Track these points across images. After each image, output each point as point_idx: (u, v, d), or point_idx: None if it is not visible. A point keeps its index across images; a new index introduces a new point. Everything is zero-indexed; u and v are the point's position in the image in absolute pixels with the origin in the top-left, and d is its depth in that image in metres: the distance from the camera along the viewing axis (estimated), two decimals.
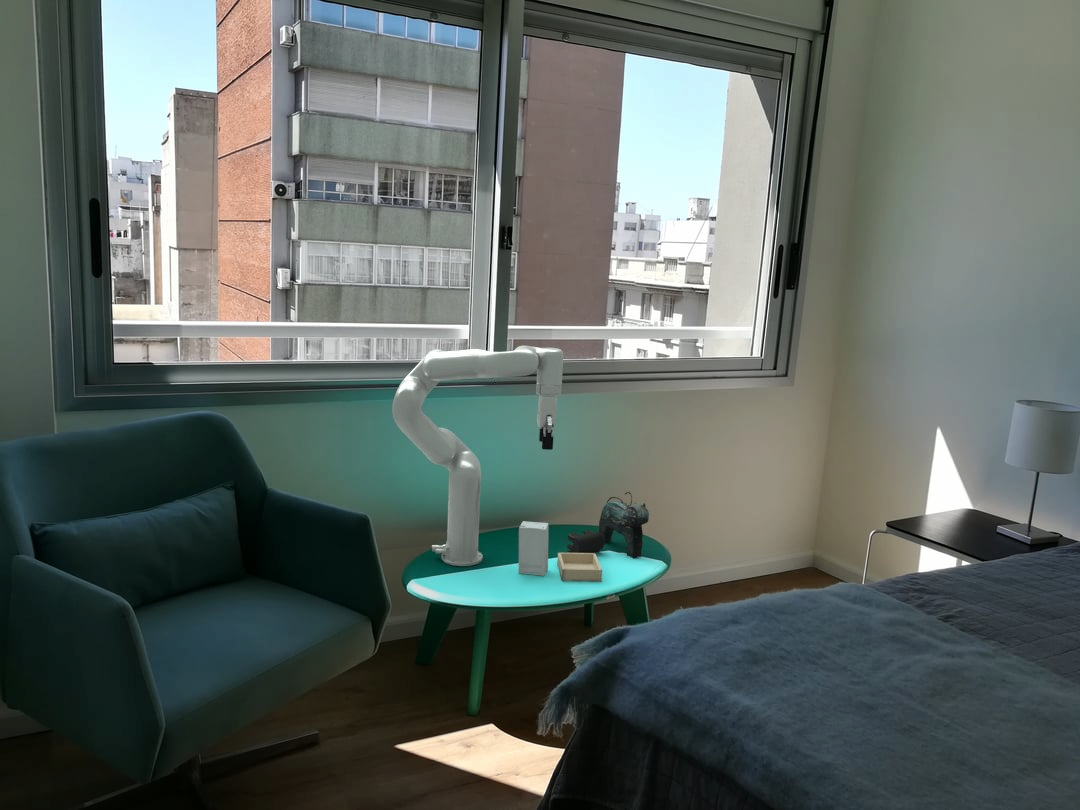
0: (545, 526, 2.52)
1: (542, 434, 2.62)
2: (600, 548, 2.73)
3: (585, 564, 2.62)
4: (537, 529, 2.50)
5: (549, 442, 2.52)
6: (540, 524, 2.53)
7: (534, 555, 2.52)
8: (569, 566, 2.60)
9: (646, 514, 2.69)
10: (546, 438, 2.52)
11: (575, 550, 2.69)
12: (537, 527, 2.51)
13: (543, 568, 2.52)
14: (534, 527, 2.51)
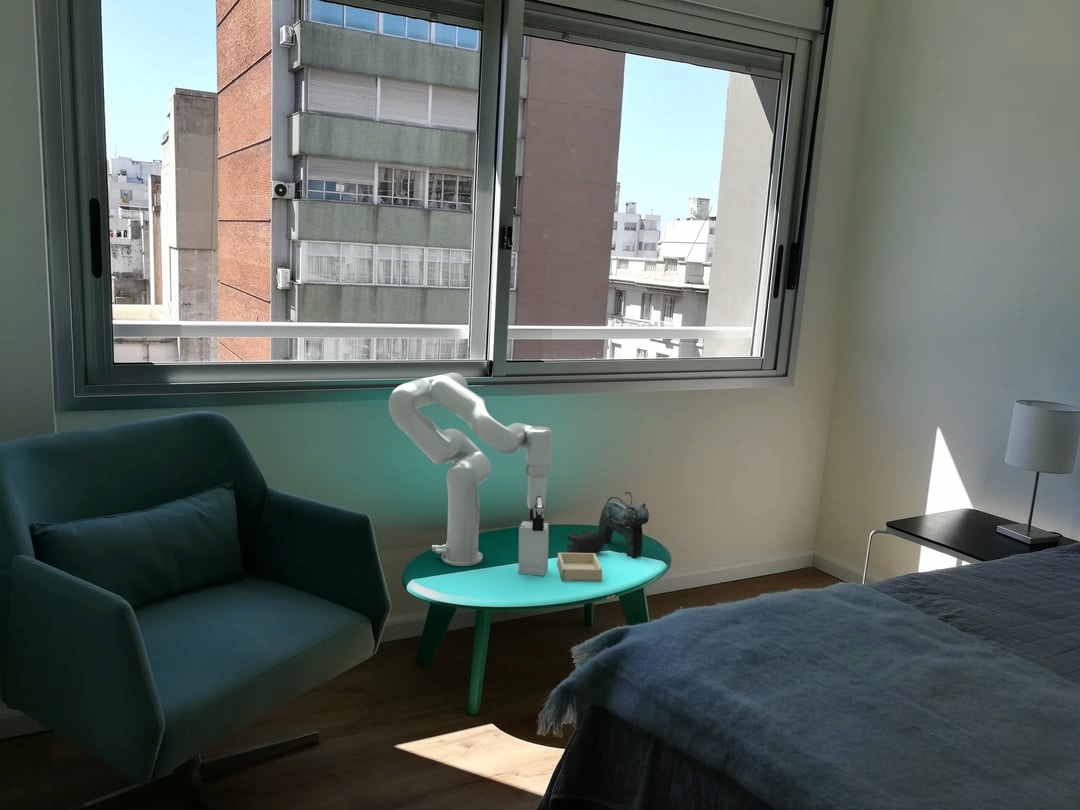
0: (545, 526, 2.52)
1: (533, 513, 2.57)
2: (600, 548, 2.73)
3: (585, 564, 2.62)
4: None
5: (539, 524, 2.47)
6: None
7: (534, 555, 2.52)
8: (569, 566, 2.60)
9: (646, 514, 2.69)
10: (536, 520, 2.47)
11: (575, 550, 2.69)
12: None
13: (543, 568, 2.52)
14: None
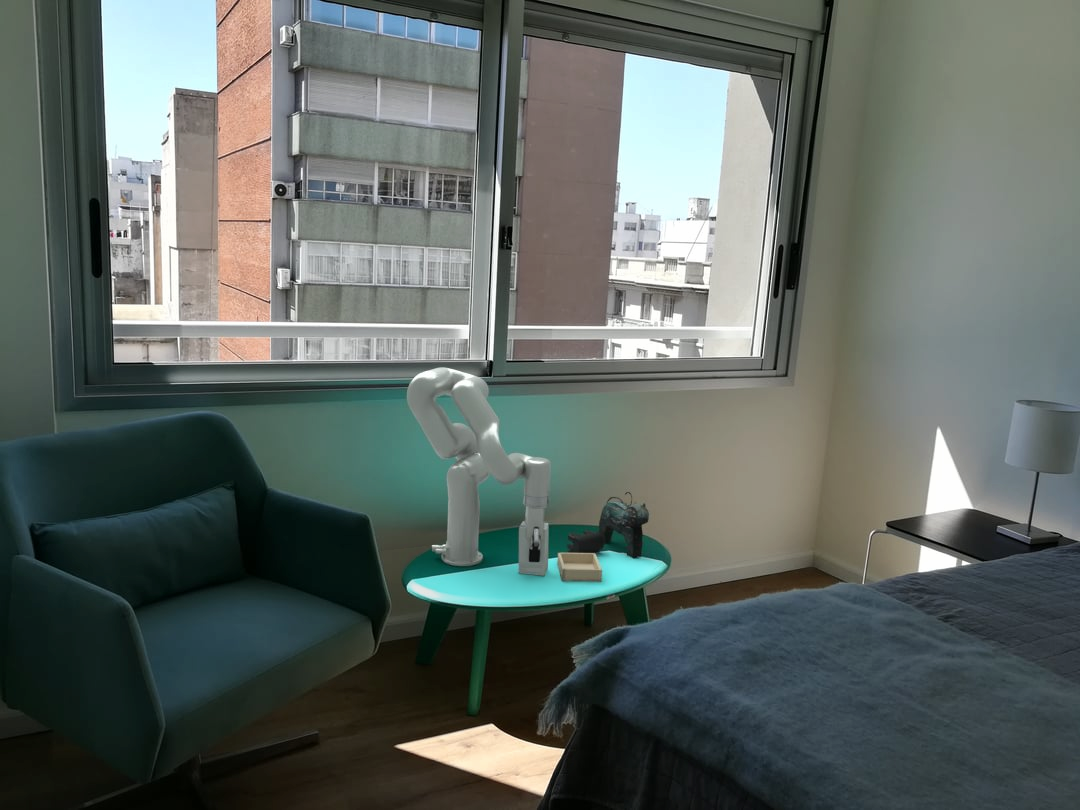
0: (545, 526, 2.52)
1: None
2: (600, 548, 2.73)
3: (585, 564, 2.62)
4: None
5: (536, 555, 2.50)
6: None
7: None
8: (569, 566, 2.60)
9: (646, 514, 2.69)
10: (533, 551, 2.50)
11: (575, 550, 2.69)
12: None
13: (543, 568, 2.52)
14: None
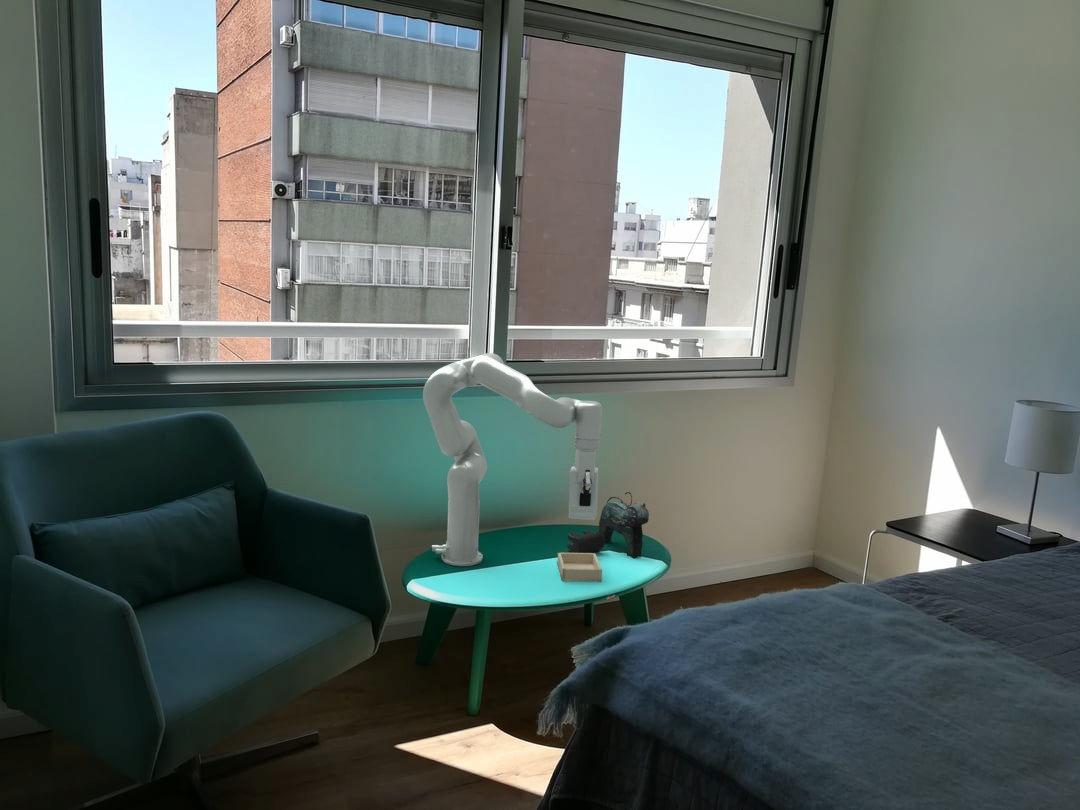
0: (596, 470, 2.50)
1: None
2: (600, 548, 2.73)
3: (585, 564, 2.62)
4: None
5: (587, 499, 2.48)
6: None
7: None
8: (569, 566, 2.60)
9: (646, 514, 2.69)
10: (584, 495, 2.48)
11: (575, 550, 2.69)
12: None
13: (594, 512, 2.50)
14: None
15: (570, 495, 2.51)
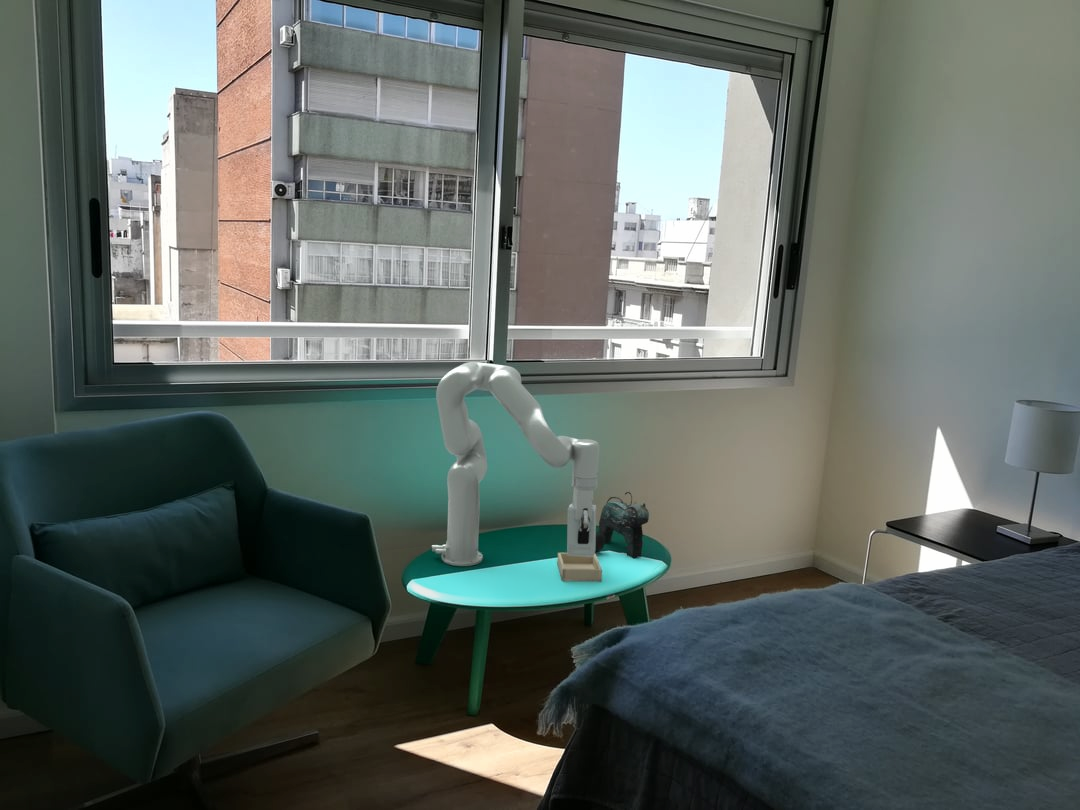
0: (593, 508, 2.53)
1: None
2: (600, 548, 2.73)
3: (585, 564, 2.62)
4: None
5: (585, 537, 2.50)
6: None
7: None
8: (569, 566, 2.60)
9: (646, 514, 2.69)
10: (582, 533, 2.50)
11: None
12: None
13: (592, 550, 2.53)
14: None
15: (568, 533, 2.53)
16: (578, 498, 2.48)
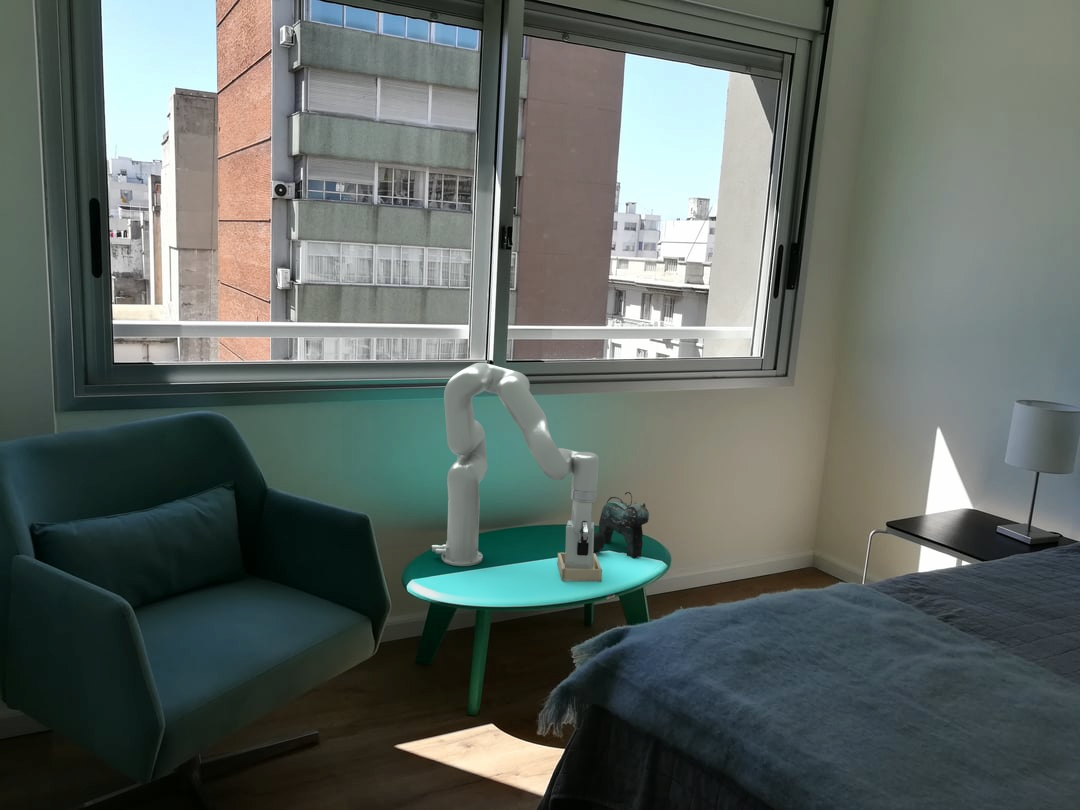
0: (592, 525, 2.53)
1: None
2: (600, 548, 2.73)
3: None
4: None
5: (584, 548, 2.50)
6: None
7: None
8: None
9: (646, 514, 2.69)
10: (581, 544, 2.50)
11: None
12: None
13: (590, 567, 2.54)
14: None
15: (566, 550, 2.54)
16: (577, 511, 2.49)
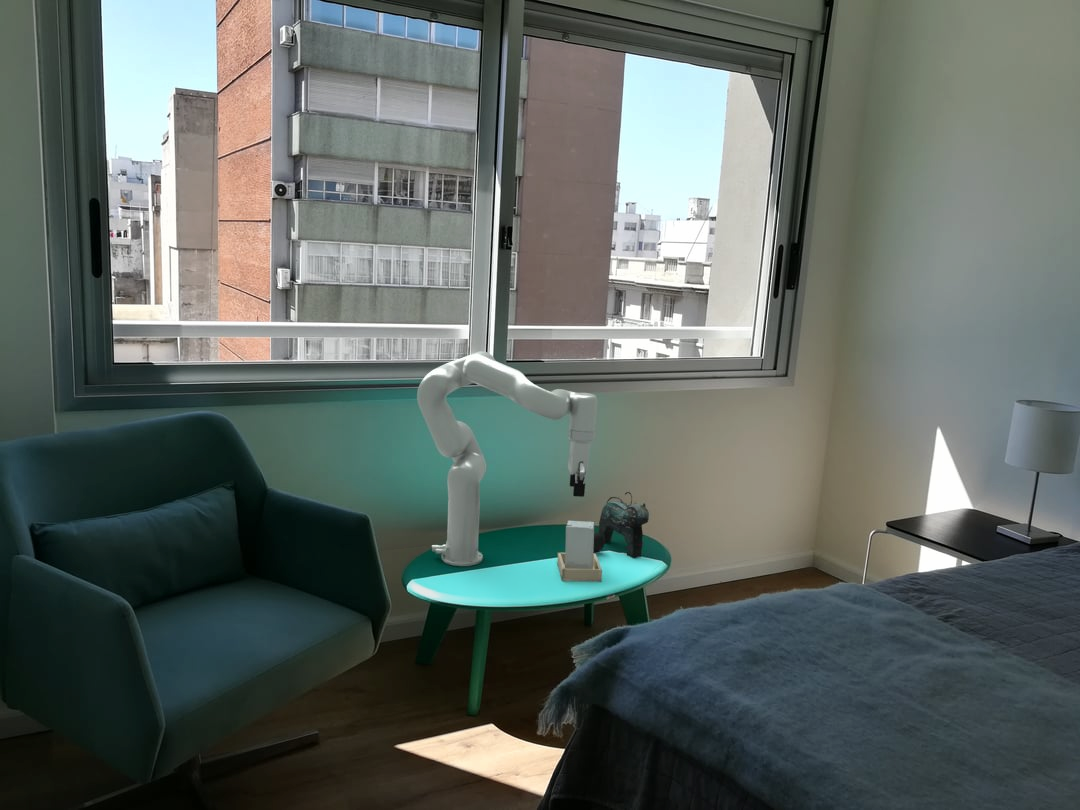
0: (592, 525, 2.53)
1: (573, 479, 2.58)
2: (600, 548, 2.73)
3: None
4: (584, 528, 2.52)
5: (581, 489, 2.48)
6: (586, 523, 2.54)
7: (581, 554, 2.53)
8: None
9: (646, 514, 2.69)
10: (578, 485, 2.48)
11: None
12: (584, 526, 2.52)
13: (590, 567, 2.54)
14: (581, 526, 2.52)
15: (566, 550, 2.54)
16: (574, 451, 2.47)
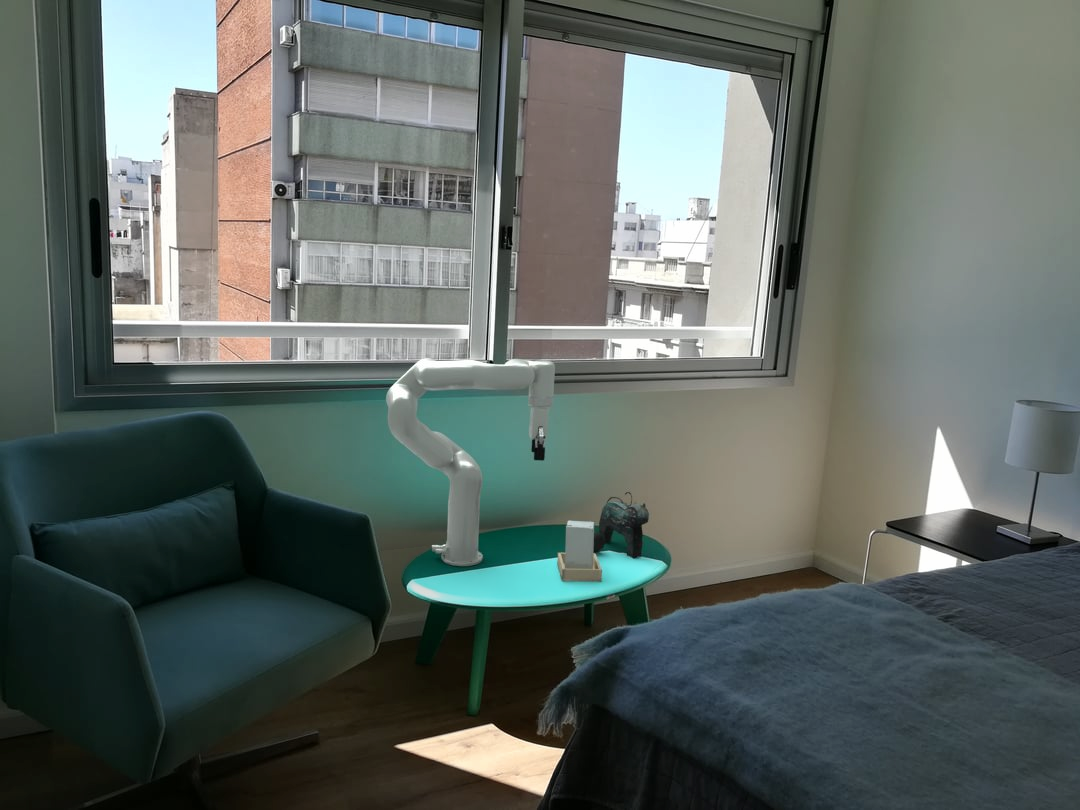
0: (592, 525, 2.53)
1: (534, 445, 2.67)
2: (600, 548, 2.73)
3: None
4: (584, 528, 2.52)
5: (541, 453, 2.57)
6: (586, 523, 2.54)
7: (581, 554, 2.53)
8: None
9: (646, 514, 2.69)
10: (538, 449, 2.56)
11: None
12: (584, 526, 2.52)
13: (590, 567, 2.54)
14: (581, 526, 2.52)
15: (567, 550, 2.54)
16: (534, 416, 2.56)
